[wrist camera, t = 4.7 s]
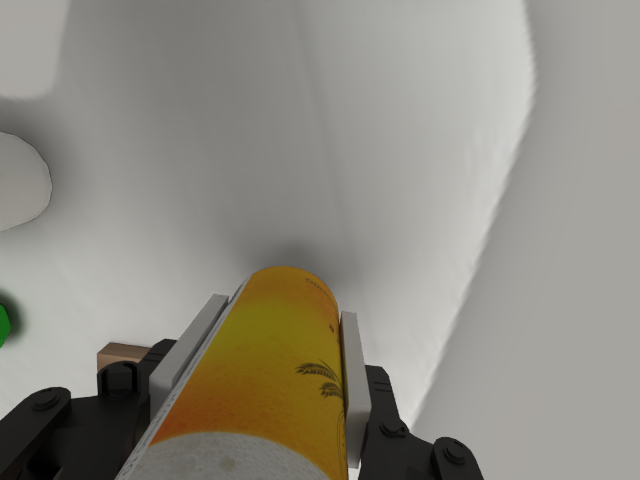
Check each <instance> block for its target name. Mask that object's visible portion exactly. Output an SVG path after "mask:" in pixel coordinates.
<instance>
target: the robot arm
mask: <svg viewBox="0 0 640 480" xmlns="http://www.w3.org/2000/svg"><path fill="white" fill-rule="evenodd" d="M228 298H229V296H225V295H218V294H214V295H213V296H212V298H211V299H210V300H209V301H208V303H207V304H206V305H205V306H204V308H203V309H202V310H201V312H200V313H199V314H198V315H197V317H196V318H195V319H194V320H193V322H192V323H191V324H190V326H189V327H188V328H187V329H186V331H185V332H184V333H183V334H182V336H181V337H180V338H179V340H171V339H163V340H162V341H160V342H158V343H156V344H155V345H154V346H153V347H152V348H151V349H150V350H149V351H148V353H147V354H146V355H145V356H144V357H143V358H142V360H140V361H139V363H137V362H134V361H126V360H124V361H118V362H114V363H111V364H108V365H107V366H105V367H103V368H102V369H101V370H100V371H99V372H98V373H97V388H98V395H97V396H91V397H83V398H73V399H71V392H70V391H69V390H68V389H66V388H62V387H51V388H47V389H42V390H40V391H37V392H35V393H33V394H31V395H30V396H28V397H27V398H25V399H24V400H23V401H22V402H21V403H19V404H18V405H17V406H16V407H15V408H14V409H13V410H12V411H11V412H9V413H8V414H7V415H6V416H5V417H4V418H3V419H2V420H1V421H0V480H115V478H116V477H117V475H118V473H119V472H120V470H121V469H122V467H123V466H124V464H125V463H126V461H127V460H128V458H129V456H130V455H131V453H132V452H133V450H134V449H135V447H136V446H137V444H138V443H139V441H140V439H141V438H142V436H143V435H144V433H145V432H146V430H147V429H148V427H149V426H150V424H151V422H152V421H153V419H154V418H155V416H156V415H157V413H158V412H159V410H160V409H161V407H162V405H163V404H164V402H165V401H166V399H167V398H168V396H169V395H170V393H171V392H172V390H173V388H174V387H175V385H176V384H177V382H178V381H179V379H180V378H181V376H182V375H183V373H184V371H185V370H186V368H187V367H188V365H189V364H190V362H191V361H192V359H193V358H194V356H195V354H196V353H197V351H198V350H199V348H200V347H201V345H202V344H203V342H204V341H205V339H206V337H207V336H208V334H209V333H210V331H211V330H212V328H213V327H214V325H215V324H216V322H217V320H218V319H219V317H220V316H221V314H222V313H223V311H224V310H225V308H226V307H227V305H228ZM339 329H340V345H341V362H342V378H343V395H344V411H345V428H346V444H347V461H348V468H355V469H358V467H359V462H360V458H361V469H360V473H359V477H358V480H484V479H483V476H482V474H481V471H480V469H479V466H478V464H477V461H476V459H475V457H474V456H473V454H472V452H471V451H470V450H469V449H468V448H467V447H466V446H465V445H464V444H463V443H461V442H459V441H458V440H456V439H453V438H450V437H441V438H439V439H437V440H436V441H435V443H434V444H431V443H428V442H426V441H424V440H421V439H419V438H417V437H415V436H414V435H412V434H411V433H410V432H409V429H408V427H407V425H406V424H405V423H404V422H403V421H402V420H401V419H400V417H399V413H398V409H397V405H396V402H395V398H394V394H393V390H392V386H391V383H390V379H389V375H388V374H387V373H386V371H385V370H384V369H383V368H382V367H379V366H371V365H365V364H364V358H363V352H362V346H361V340H360V334H359V328H358V322H357V316H356V313H350V312H343V311H342V313H341V319H340V325H339Z"/></svg>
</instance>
